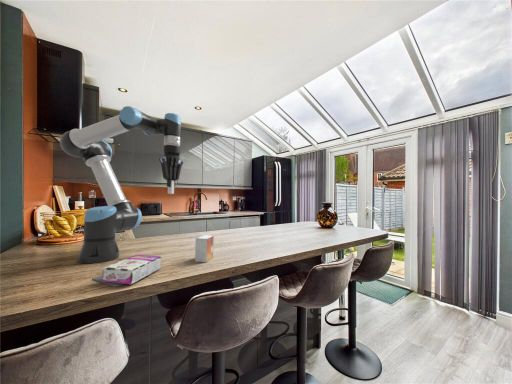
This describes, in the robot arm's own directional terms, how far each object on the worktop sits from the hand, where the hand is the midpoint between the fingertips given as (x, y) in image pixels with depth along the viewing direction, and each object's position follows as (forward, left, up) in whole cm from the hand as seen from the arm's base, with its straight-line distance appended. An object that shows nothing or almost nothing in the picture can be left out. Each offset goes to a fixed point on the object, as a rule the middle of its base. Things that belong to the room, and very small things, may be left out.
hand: (170, 193), depth 106 cm
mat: (+7, -27, -30) cm, 41 cm away
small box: (+19, +3, -30) cm, 36 cm away
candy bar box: (+8, -17, -27) cm, 33 cm away
